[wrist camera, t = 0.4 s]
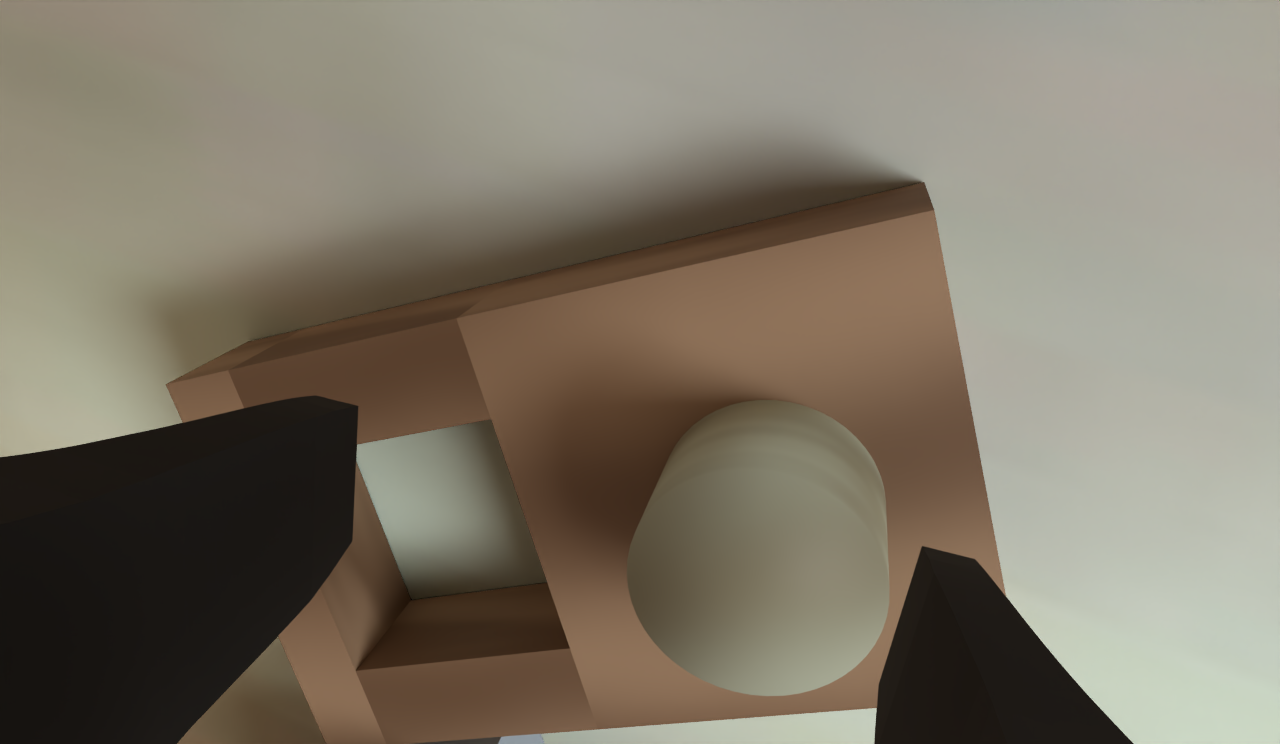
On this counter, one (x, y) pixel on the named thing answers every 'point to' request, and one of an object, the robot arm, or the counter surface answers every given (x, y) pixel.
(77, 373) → the counter surface
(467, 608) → the base
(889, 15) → the counter surface
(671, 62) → the counter surface
